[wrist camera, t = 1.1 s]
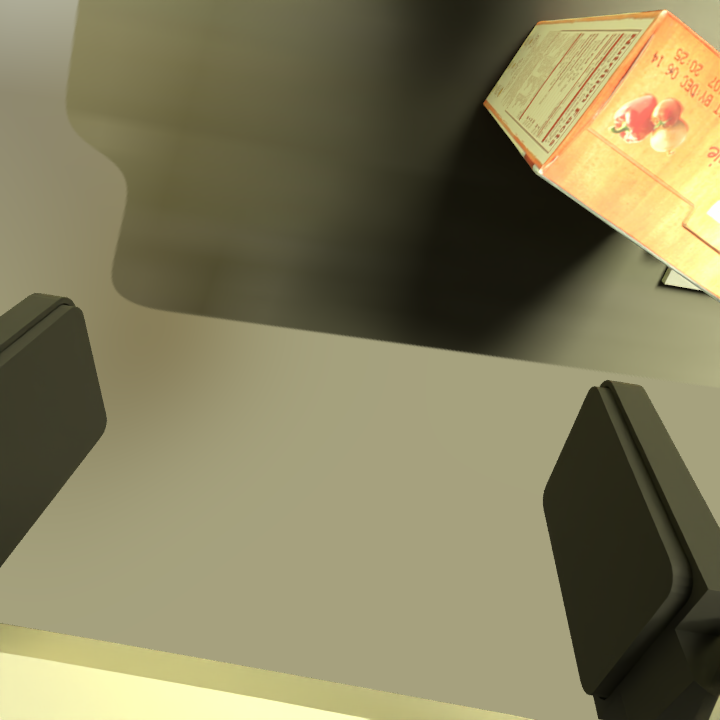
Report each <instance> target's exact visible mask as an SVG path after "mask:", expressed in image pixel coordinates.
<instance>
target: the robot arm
mask: <svg viewBox="0 0 720 720" xmlns="http://www.w3.org/2000/svg"><path fill="white" fill-rule="evenodd" d="M106 422H107V418H106V412H105V408H104V404H103V399H102V395H101V391H100V386H99V382H98V377H97V373H96V369H95V364H94V360H93V355H92V351H91V346H90V342H89V337H88V333H87V329H86V324H85V320H84V316H83V313H82V311H81V310H80V309H79V308H78V307H75V304H74V303H73V301H72V300H70V299H69V298H66V297H60V296H53V295H47V294H41V293H34V294H32V295H30V296H28V297H27V298H25V299H24V300H23V301H21V302H20V303H19V304H17V305H16V306H14V307H13V308H12V309H10V310H9V311H7V312H6V313H5V314H3V315H2V316H0V567H1V566H2V564H3V563H4V562H5V560H6V559H7V558H8V557H9V555H10V554H11V553H12V552H13V550H14V549H15V548H16V546H17V545H18V543H19V542H20V541H21V540H22V539H23V537H24V536H25V535H26V533H27V532H28V531H29V529H30V528H31V527H32V526H33V524H34V523H35V522H36V520H37V519H38V518H39V516H40V515H41V514H42V513H43V511H44V510H45V509H46V507H47V506H48V505H49V504H50V502H51V501H52V500H53V498H54V497H55V496H56V494H57V493H58V492H59V491H60V489H61V488H62V487H63V485H64V484H65V483H66V481H67V480H68V479H69V478H70V476H71V475H72V474H73V472H74V471H75V470H76V469H77V467H78V466H79V465H80V463H81V462H82V461H83V460H84V458H85V457H86V456H87V454H88V453H89V452H90V450H91V449H92V448H93V446H94V445H95V444H96V442H97V441H98V440H99V439H100V437H101V436H102V434H103V433H104V430H105V427H106ZM543 507H544V513H545V517H546V522H547V527H548V531H549V536H550V541H551V545H552V550H553V555H554V559H555V564H556V569H557V574H558V577H559V583H560V587H561V592H562V597H563V601H564V606H565V611H566V616H567V620H568V625H569V630H570V634H571V639H572V643H573V648H574V653H575V658H576V662H577V667H578V672H579V676H580V681H581V684H582V687H583V689H584V691H585V692H586V693H587V694H588V695H593V697H594V701H595V705H596V710H597V715H598V719H601V720H720V528H719V526H718V524H717V523H716V521H715V519H714V517H713V515H712V513H711V512H710V510H709V508H708V506H707V504H706V502H705V500H704V499H703V497H702V495H701V493H700V491H699V489H698V488H697V486H696V484H695V482H694V480H693V478H692V477H691V475H690V473H689V471H688V469H687V467H686V466H685V464H684V462H683V460H682V458H681V456H680V454H679V452H678V451H677V449H676V447H675V445H674V443H673V441H672V440H671V438H670V436H669V434H668V432H667V430H666V429H665V427H664V425H663V423H662V421H661V419H660V417H659V415H658V414H657V412H656V410H655V408H654V406H653V405H652V403H651V401H650V399H649V397H648V395H647V393H646V392H645V390H644V389H643V387H642V386H640V385H635V384H629V383H623V382H616V381H610V380H607V381H604V382H603V383H602V384H601V386H600V387H595V386H594V387H592V388H591V389H590V390H589V392H588V394H587V396H586V398H585V400H584V402H583V405H582V407H581V409H580V411H579V414H578V416H577V418H576V420H575V423H574V425H573V427H572V429H571V431H570V434H569V436H568V438H567V440H566V443H565V445H564V447H563V449H562V452H561V454H560V456H559V458H558V460H557V463H556V465H555V467H554V469H553V472H552V474H551V476H550V478H549V480H548V483H547V485H546V488H545V490H544V495H543ZM0 720H534V719H529V718H525V717H520V716H515V715H510V714H505V713H499V712H493V711H488V710H483V709H477V708H472V707H467V706H461V705H456V704H450V703H444V702H439V701H434V700H429V699H423V698H417V697H412V696H406V695H401V694H396V693H391V692H385V691H380V690H374V689H369V688H362V687H358V686H352V685H347V684H342V683H336V682H330V681H325V680H320V679H314V678H308V677H303V676H297V675H292V674H286V673H280V672H275V671H269V670H264V669H258V668H252V667H247V666H241V665H236V664H231V663H225V662H219V661H214V660H208V659H202V658H197V657H191V656H186V655H180V654H174V653H168V652H163V651H158V650H152V649H146V648H141V647H135V646H129V645H123V644H118V643H113V642H106V641H101V640H95V639H90V638H84V637H78V636H72V635H67V634H61V633H55V632H49V631H44V630H38V629H32V628H26V627H20V626H15V625H9V624H3V623H0Z"/></svg>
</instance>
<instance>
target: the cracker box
mask: <svg viewBox="0 0 720 720" xmlns="http://www.w3.org/2000/svg"><path fill="white" fill-rule="evenodd" d="M483 105H484V106H485V107H486V108H487V110H488V111H489V112H490V114H491V115H492V116H493V117H494V118H495V120H496V121H497V123H498V124H499V125H500V127H501V128H502V129H503V131H504V132H505V133H506V135H507V136H508V137H509V138H510V140H511V141H512V142H513V144H514V145H515V146H516V148H517V149H518V151H519V152H520V154H521V155H522V156H523V158H524V159H525V160H526V162H527V163H528V164H529V166H530V167H531V169H532V170H533V171H534V172H535V173H536V175H538V176H539V177H541V178H542V179H544V180H545V181H547V182H548V183H549V184H551V185H552V186H554V187H555V188H557V189H558V190H559V191H561V192H562V193H564V194H565V195H567V196H568V197H569V198H571V199H572V200H574V201H575V202H577V203H578V204H579V205H581V206H582V207H584V208H585V209H586V210H588V211H589V212H591V213H592V214H594V215H595V216H596V217H598V218H599V219H600V220H602V221H603V222H605V223H606V224H607V225H609V226H610V227H612V228H613V229H614V230H616V231H617V232H619V233H620V234H622V235H623V236H625V237H626V238H628V239H629V240H631V241H632V242H633V243H635V244H636V245H638V246H639V247H641V248H642V249H643V250H645V251H646V252H648V253H649V254H651V255H652V256H653V257H655V258H656V259H658V260H659V261H661V262H662V263H663V264H665V265H666V266H668V267H669V268H671V269H672V270H673V271H675V272H676V273H678V274H679V275H681V276H682V277H683V278H685V279H686V280H688V281H689V282H691V283H692V284H693V285H695V286H696V287H698V288H699V289H701V290H702V291H703V292H705V293H706V294H708V295H709V296H711V297H712V298H714V299H715V300H717V301H718V302H719V303H720V53H719V52H718V51H717V50H715V49H714V48H713V47H712V46H711V45H709V44H708V43H707V42H706V41H705V40H703V39H702V38H701V37H700V36H699V35H697V34H696V33H695V32H694V31H693V30H691V29H690V28H689V27H688V26H687V25H685V24H684V23H683V22H682V21H680V20H679V19H678V18H677V17H676V16H674V15H673V14H672V13H670V12H669V11H667V10H666V9H665V10H656V11H648V12H635V13H623V14H615V15H604V16H595V17H584V18H573V19H562V20H549V21H540V22H538V23H537V24H536V25H535V27H534V29H533V30H532V32H531V33H530V35H529V36H528V37H527V39H526V40H525V42H524V43H523V45H522V46H521V48H520V49H519V51H518V52H517V54H516V55H515V57H514V58H513V60H512V61H511V63H510V64H509V66H508V67H507V69H506V70H505V72H504V73H503V75H502V76H501V78H500V79H499V81H498V82H497V84H496V85H495V87H494V88H493V90H492V91H491V93H490V94H489V96H488V97H487V98H486V100H485V101H484V103H483Z"/></svg>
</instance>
